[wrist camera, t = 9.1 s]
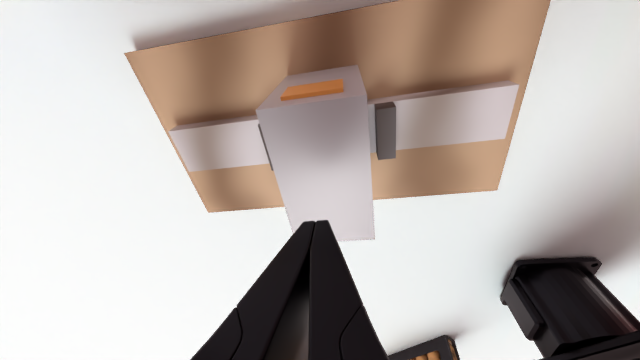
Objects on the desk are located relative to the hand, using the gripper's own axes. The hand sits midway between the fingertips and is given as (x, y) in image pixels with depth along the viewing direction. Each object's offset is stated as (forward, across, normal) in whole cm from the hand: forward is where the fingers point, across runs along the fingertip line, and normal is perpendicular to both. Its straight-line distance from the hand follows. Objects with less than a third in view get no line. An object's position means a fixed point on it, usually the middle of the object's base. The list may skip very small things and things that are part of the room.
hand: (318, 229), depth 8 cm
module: (+9, 0, 0) cm, 9 cm away
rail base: (+10, 0, 0) cm, 10 cm away
